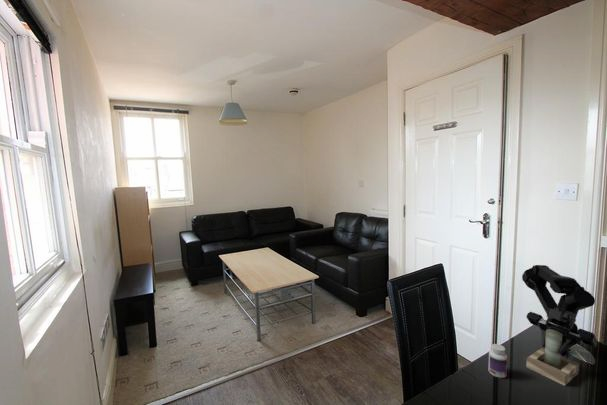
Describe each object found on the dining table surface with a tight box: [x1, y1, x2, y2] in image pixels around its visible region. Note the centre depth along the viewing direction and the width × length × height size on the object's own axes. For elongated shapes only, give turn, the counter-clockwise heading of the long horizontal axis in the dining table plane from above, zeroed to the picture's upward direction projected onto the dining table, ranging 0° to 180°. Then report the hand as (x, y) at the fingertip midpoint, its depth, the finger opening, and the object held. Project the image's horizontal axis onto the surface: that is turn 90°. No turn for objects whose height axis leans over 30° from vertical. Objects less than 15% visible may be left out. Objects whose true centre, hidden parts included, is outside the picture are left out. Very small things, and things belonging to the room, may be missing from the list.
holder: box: [525, 347, 580, 387], centre depth 104 cm, size 11×11×4 cm
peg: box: [543, 329, 562, 370], centre depth 104 cm, size 4×4×12 cm
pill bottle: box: [487, 343, 508, 379], centre depth 104 cm, size 5×5×10 cm
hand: (551, 349), depth 103 cm, fingers closed on peg, 4 cm apart
